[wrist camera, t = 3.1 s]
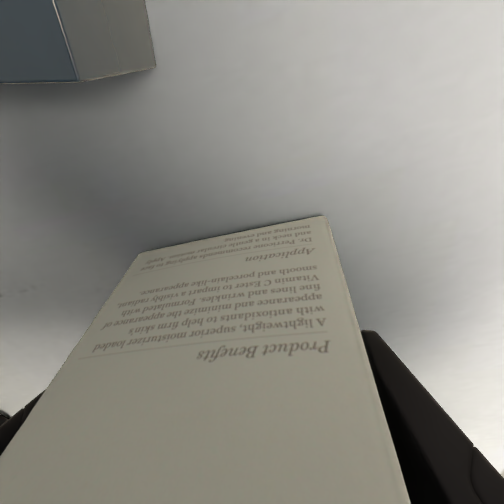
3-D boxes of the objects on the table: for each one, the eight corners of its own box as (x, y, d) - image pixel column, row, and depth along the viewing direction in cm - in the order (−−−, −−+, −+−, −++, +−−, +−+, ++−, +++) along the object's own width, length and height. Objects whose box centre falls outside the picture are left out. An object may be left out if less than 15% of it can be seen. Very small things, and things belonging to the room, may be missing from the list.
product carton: (205, 362, 13) (132, 649, 7) (137, 246, 9) (-124, 606, 3) (351, 348, 11) (428, 695, 5) (332, 207, 8) (471, 695, 2)
